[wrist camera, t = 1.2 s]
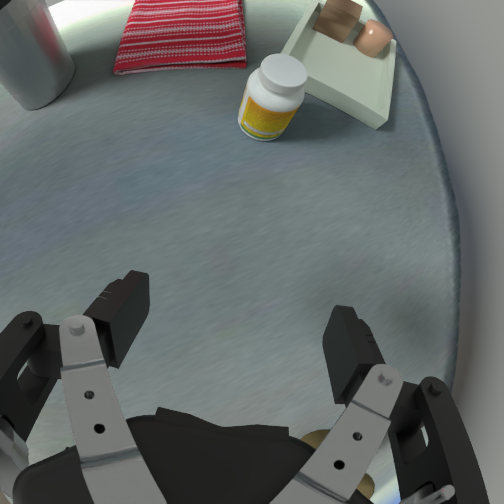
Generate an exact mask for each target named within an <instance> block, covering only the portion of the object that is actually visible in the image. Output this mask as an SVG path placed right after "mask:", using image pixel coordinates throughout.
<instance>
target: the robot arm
mask: <svg viewBox="0 0 504 504" xmlns="http://www.w3.org/2000/svg"><path fill="white" fill-rule="evenodd" d="M74 71H75V65H74V62H73V60H72V58H71V56H70V54H69V52H68V50H67V48H66V46H65V44H64V42H63V40H62V38H61V35H60V33H59V31H58V29H57V27H56V25H55V23H54V20H53V18H52V16H51V14H50V11H49V9H48V7H47V4H46V2H45V0H0V83H1V84H2V85H3V86H4V87H5V88H6V89H7V91H8V92H9V93H10V94H11V95H12V96H13V97H14V99H15V100H16V101H17V102H18V103H19V104H20V105H21V106H22V107H23V108H24V109H27V110H35V109H38V108H41V107H43V106H45V105H47V104H48V103H50V102H51V101H53V100H54V99H55V98H56V97H58V96H59V95H60V94H61V93H62V92H63V91H64V89H65V88H66V87H67V86H68V84H69V83H70V81H71V79H72V77H73V75H74ZM149 307H150V297H149V275H148V273H143V272H138V271H134V270H131V271H130V272H129V273H128V274H127V275H126V276H125V277H124V279H123V280H122V279H117V280H115V281H114V282H112V283H110V284H109V285H108V286H107V287H106V288H105V289H104V290H103V292H102V293H101V294H100V295H99V297H97V298H96V299H95V301H94V302H93V303H92V304H91V305H90V306H89V308H88V309H87V310H86V311H85V312H84V314H83V315H74V316H70V317H68V318H66V319H65V320H63V321H62V323H61V324H60V325H50V324H43V321H42V317H41V316H40V314H38V313H37V312H34V311H26V312H22V313H20V314H18V315H17V316H16V317H15V318H14V319H13V320H12V321H11V322H10V323H9V324H8V325H7V327H6V328H5V329H4V330H3V331H2V332H1V333H0V491H1V492H3V493H4V494H5V495H7V496H8V497H10V498H11V499H13V504H374V503H372V502H371V501H370V500H369V499H368V498H367V497H366V496H365V495H363V494H362V493H361V492H360V491H359V490H358V489H357V486H358V484H359V483H360V481H361V479H362V478H363V476H364V474H365V472H366V471H367V469H368V467H369V465H370V464H371V462H372V460H373V458H374V456H375V454H376V452H377V450H378V449H379V447H380V445H381V443H382V441H383V439H384V436H385V434H386V432H387V431H388V435H389V439H390V444H391V449H392V453H393V458H394V463H395V469H396V474H397V479H398V485H399V491H400V498H401V502H400V503H399V504H489V499H488V496H487V492H486V489H485V484H484V481H483V478H482V474H481V471H480V468H479V465H478V462H477V459H476V456H475V454H474V450H473V447H472V445H471V442H470V439H469V437H468V434H467V432H466V429H465V427H464V424H463V421H462V419H461V417H460V414H459V412H458V409H457V407H456V405H455V403H454V400H453V398H452V396H451V394H450V392H449V389H448V387H447V386H446V384H445V383H444V382H443V381H441V380H440V379H438V378H436V377H426V378H424V379H423V380H422V381H421V383H420V384H419V385H417V384H413V383H409V382H405V381H403V378H402V376H401V374H400V373H399V372H398V371H397V370H396V369H395V368H393V367H392V366H389V365H386V364H385V362H384V359H383V357H382V355H381V352H380V350H379V348H378V345H377V343H376V341H375V339H374V337H373V334H372V332H371V330H370V328H369V326H368V325H367V324H366V323H365V322H364V321H363V320H362V319H358V317H357V315H356V313H355V310H354V308H353V307H348V306H340V305H336V306H335V307H334V309H333V311H332V314H331V316H330V319H329V322H328V324H327V327H326V329H325V332H324V335H323V350H324V354H325V359H326V363H327V368H328V373H329V377H330V382H331V387H332V392H333V397H334V402H335V404H345V406H346V409H345V410H344V412H343V413H342V415H341V416H340V417H339V419H338V420H337V422H336V423H335V425H334V426H333V427H332V429H331V430H330V431H329V433H328V434H327V435H326V437H325V438H324V439H323V441H322V442H321V443H320V445H319V446H318V447H317V448H316V449H315V448H314V447H312V446H311V445H309V444H308V443H306V442H304V441H302V440H300V439H297V438H295V437H292V436H289V428H288V427H281V426H268V425H258V424H256V425H246V426H233V427H221V426H218V425H215V424H212V423H210V422H207V421H205V420H202V419H200V418H198V417H195V416H193V415H191V414H187V413H182V412H178V411H174V410H169V409H165V408H161V407H158V408H157V411H156V414H155V415H142V416H136V417H132V418H129V419H126V420H125V418H124V415H123V413H122V410H121V408H120V405H119V402H118V399H117V397H116V394H115V391H114V388H113V385H112V382H111V379H110V376H109V373H108V370H107V369H108V367H109V366H111V367H115V368H118V369H119V367H120V365H121V363H122V361H123V359H124V358H125V356H126V354H127V352H128V350H129V348H130V347H131V345H132V343H133V341H134V339H135V337H136V336H137V334H138V332H139V330H140V328H141V327H142V325H143V323H144V321H145V320H146V318H147V316H148V312H149ZM25 362H27V364H28V365H27V366H26V368H25V369H24V371H23V372H22V374H21V375H20V377H19V378H18V380H17V376H18V373H19V371H20V370H21V368H22V367H23V365H24V364H25ZM58 379H62V385H63V390H64V396H65V401H66V406H67V411H68V415H69V420H70V424H71V428H72V432H73V435H74V439H75V443H76V445H75V446H72V447H70V448H68V449H66V450H64V451H62V452H60V453H57V454H55V455H53V456H51V457H49V458H46V459H44V460H42V461H39V462H37V463H35V464H32V465H30V466H28V465H29V460H28V454H29V453H28V448H27V445H26V440H27V438H28V436H29V434H30V432H31V430H32V428H33V426H34V424H35V422H36V420H37V418H38V416H39V414H40V412H41V410H42V408H43V406H44V404H45V402H46V400H47V398H48V396H49V394H50V393H51V391H52V389H53V387H54V385H55V384H56V382H57V380H58ZM423 426H425V429H426V432H427V435H428V445H427V447H426V443H425V440H424V437H423V433H422V430H421V428H422V427H423Z"/></svg>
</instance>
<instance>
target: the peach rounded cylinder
mask: <svg viewBox="0 0 504 504" xmlns="http://www.w3.org/2000/svg"><path fill="white" fill-rule="evenodd" d="M392 38H393V35H392V33H391V31H390V30H389V29H388V28H387V27H386V26H384V25H383V24H381V23H380V22H378V21H375V20H368V21H367V22H366V24H365V25H364V27H363V28H362V29H361V31H360V32H359V33H358V35H357V36H356V38H355V39H354V41H353V43H354V46H355V47H356V48H357V49H358V50H359V51H360V52H361V53H362V54H364V55H366V56H368V57H372V58H374V57H377V56H378V54H379V53H380V52H381V51H382V50H383V49H384V48H385V46H386V45H387V44H388V43H389V42H390V41H391V40H392Z"/></svg>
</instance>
